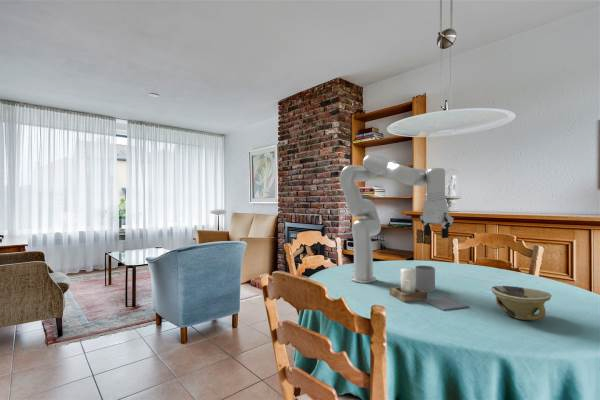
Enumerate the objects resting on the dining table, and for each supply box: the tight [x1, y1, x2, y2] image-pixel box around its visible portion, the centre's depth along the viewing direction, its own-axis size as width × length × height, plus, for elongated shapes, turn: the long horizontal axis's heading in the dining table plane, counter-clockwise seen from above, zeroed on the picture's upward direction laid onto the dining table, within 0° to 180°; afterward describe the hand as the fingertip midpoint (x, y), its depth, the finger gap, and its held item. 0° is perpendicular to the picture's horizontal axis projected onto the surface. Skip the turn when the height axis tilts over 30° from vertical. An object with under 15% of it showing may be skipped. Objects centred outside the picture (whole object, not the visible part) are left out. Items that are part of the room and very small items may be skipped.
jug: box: [400, 267, 416, 294], centre depth 136 cm, size 8×6×12 cm
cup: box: [414, 265, 436, 293], centre depth 148 cm, size 8×8×10 cm
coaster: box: [422, 296, 470, 312], centre depth 127 cm, size 12×12×1 cm
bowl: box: [490, 285, 552, 322], centre depth 113 cm, size 18×18×10 cm
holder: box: [389, 286, 428, 303], centre depth 137 cm, size 11×11×3 cm
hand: (436, 236), depth 138 cm, fingers open, 9 cm apart
